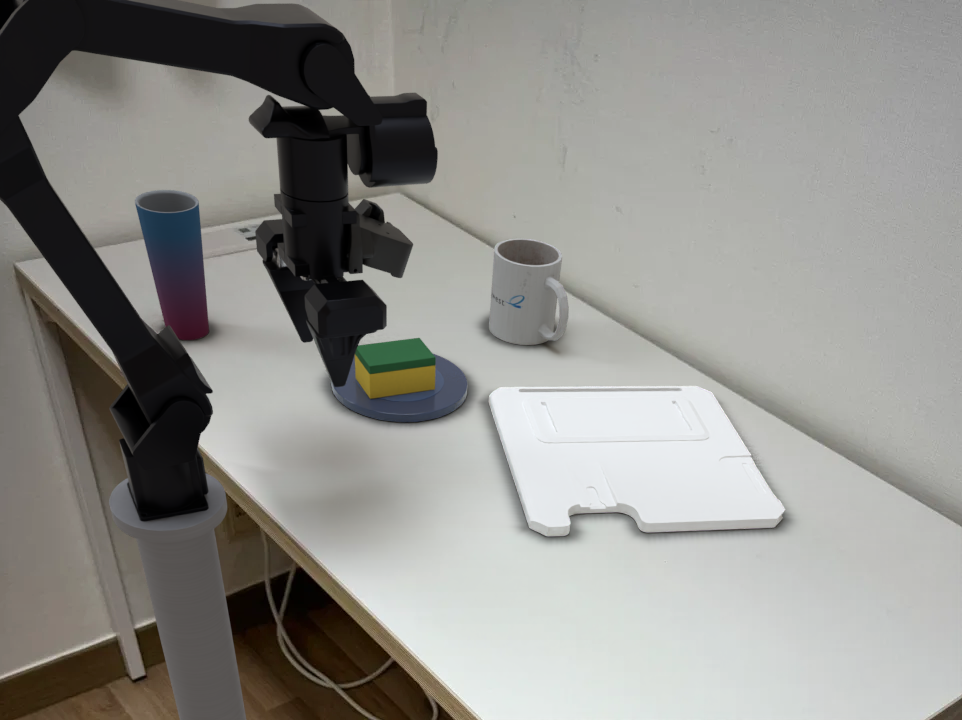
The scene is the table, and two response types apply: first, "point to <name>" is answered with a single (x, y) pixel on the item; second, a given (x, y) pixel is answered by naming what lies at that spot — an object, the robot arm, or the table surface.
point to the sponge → (395, 367)
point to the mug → (527, 292)
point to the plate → (408, 397)
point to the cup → (176, 259)
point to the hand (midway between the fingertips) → (322, 363)
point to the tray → (630, 458)
